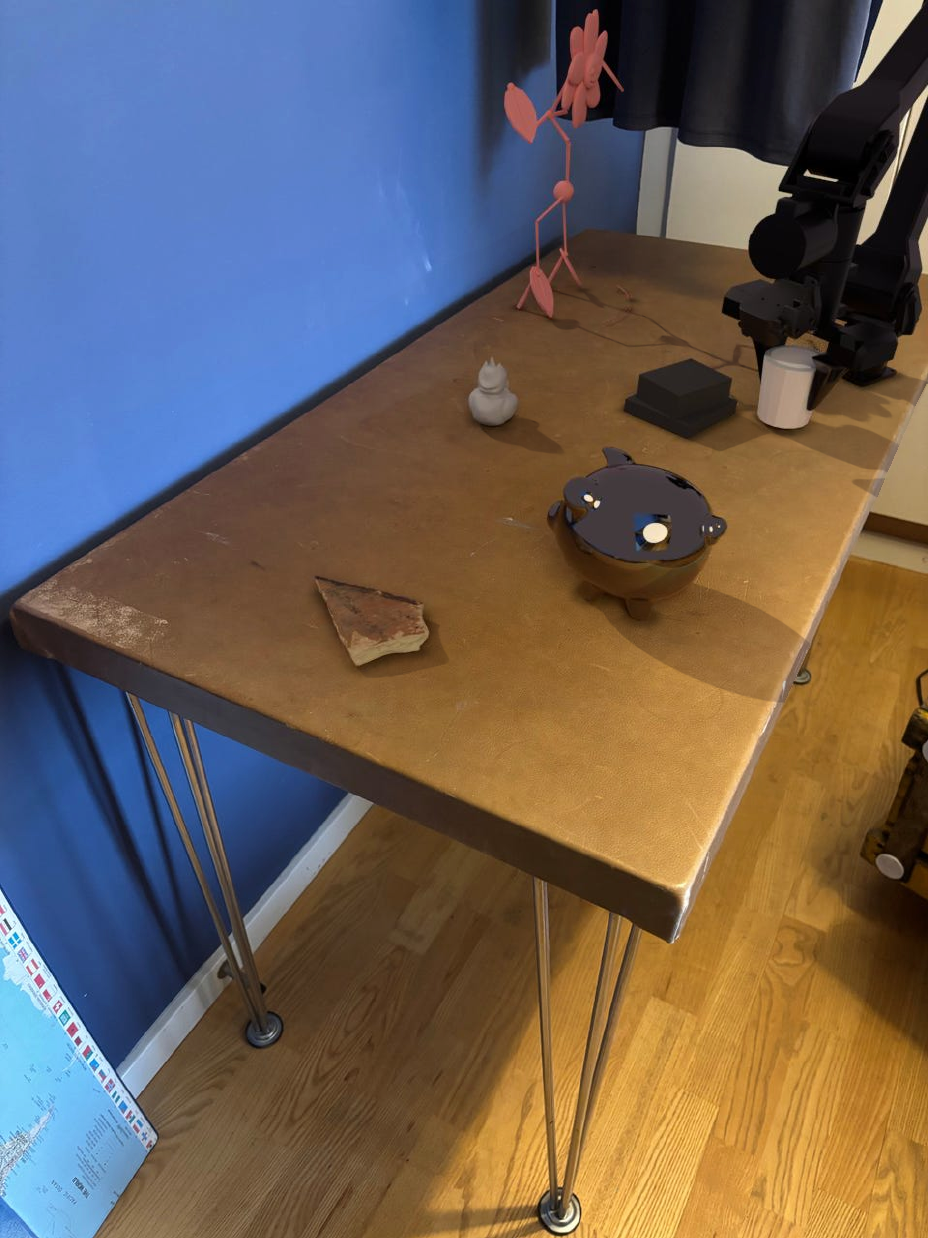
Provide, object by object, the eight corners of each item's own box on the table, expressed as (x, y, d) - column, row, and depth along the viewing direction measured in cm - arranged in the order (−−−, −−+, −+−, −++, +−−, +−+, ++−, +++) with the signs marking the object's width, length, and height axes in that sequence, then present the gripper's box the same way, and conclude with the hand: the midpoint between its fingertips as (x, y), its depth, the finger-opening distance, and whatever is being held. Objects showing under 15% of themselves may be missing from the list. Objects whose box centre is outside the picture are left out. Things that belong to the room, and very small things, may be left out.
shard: (316, 589, 79) (313, 572, 78) (400, 570, 81) (399, 554, 80) (348, 669, 71) (347, 651, 70) (441, 646, 73) (440, 629, 72)
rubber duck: (460, 428, 101) (459, 359, 96) (481, 403, 106) (482, 336, 101) (505, 437, 100) (508, 368, 95) (525, 411, 104) (528, 344, 99)
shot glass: (817, 433, 99) (834, 373, 94) (752, 428, 100) (766, 367, 95) (812, 405, 104) (827, 346, 100) (750, 400, 105) (762, 341, 101)
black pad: (687, 380, 107) (691, 357, 105) (727, 401, 103) (732, 378, 101) (635, 397, 104) (638, 373, 102) (675, 419, 100) (679, 395, 98)
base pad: (671, 387, 109) (673, 375, 108) (735, 413, 104) (738, 400, 103) (623, 411, 105) (625, 398, 103) (687, 439, 99) (689, 425, 98)
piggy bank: (575, 532, 86) (585, 421, 78) (729, 583, 79) (756, 468, 72) (516, 594, 78) (521, 478, 71) (681, 656, 72) (705, 536, 65)
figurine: (484, 327, 123) (489, 20, 101) (562, 270, 141) (581, -3, 118) (589, 349, 118) (618, 29, 95) (657, 287, 135) (695, 4, 113)
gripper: (697, 242, 93) (674, 384, 103) (844, 298, 81) (803, 453, 91) (773, 223, 98) (744, 361, 108) (923, 274, 86) (875, 424, 96)
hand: (787, 397), depth 101 cm, fingers closed on shot glass, 6 cm apart
